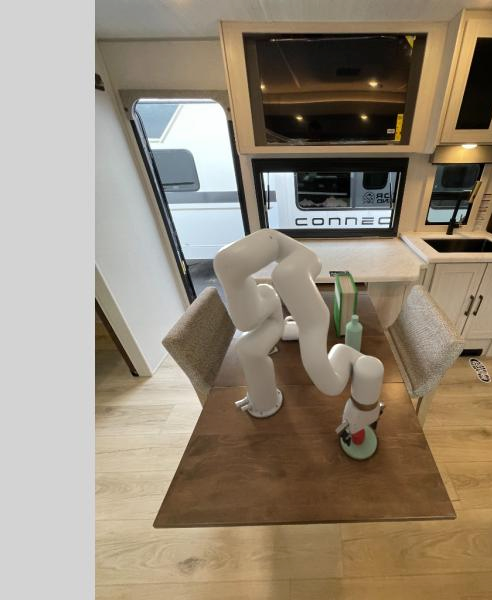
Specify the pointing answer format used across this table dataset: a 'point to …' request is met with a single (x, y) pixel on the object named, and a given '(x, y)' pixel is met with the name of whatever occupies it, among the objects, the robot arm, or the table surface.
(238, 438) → the table surface
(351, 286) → the hardback book
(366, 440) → the coaster
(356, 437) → the cap
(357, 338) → the bottle
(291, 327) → the mug
